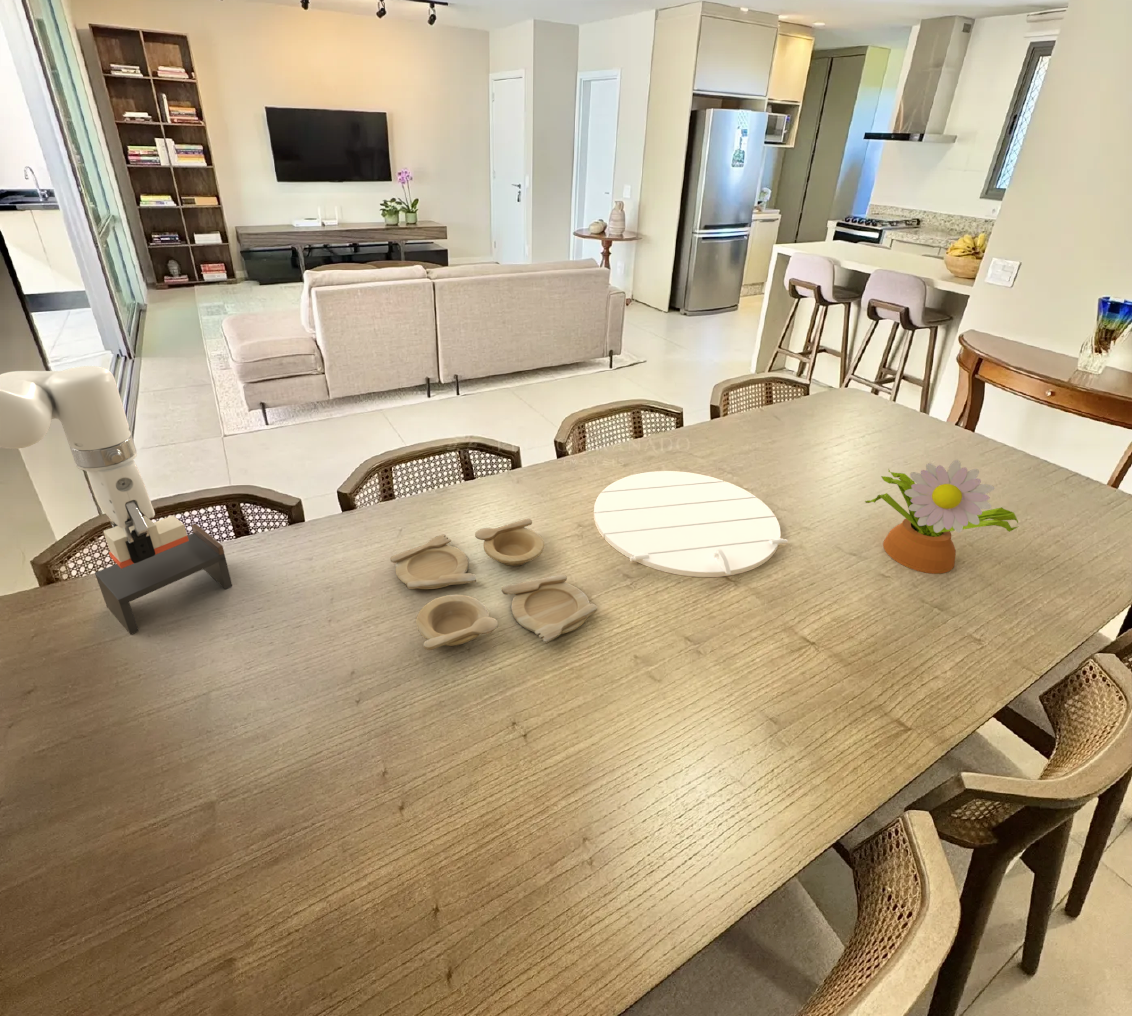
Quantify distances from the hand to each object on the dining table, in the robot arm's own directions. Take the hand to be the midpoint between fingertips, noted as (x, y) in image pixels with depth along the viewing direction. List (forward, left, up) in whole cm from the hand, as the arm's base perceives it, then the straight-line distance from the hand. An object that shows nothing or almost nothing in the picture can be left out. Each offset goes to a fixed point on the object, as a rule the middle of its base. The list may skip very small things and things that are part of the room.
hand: (137, 551), depth 101 cm
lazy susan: (+84, -54, -11) cm, 100 cm away
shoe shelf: (+3, 0, -11) cm, 11 cm away
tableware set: (+40, -39, -11) cm, 57 cm away
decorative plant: (+107, -96, -11) cm, 144 cm away
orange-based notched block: (+2, 0, -1) cm, 2 cm away
